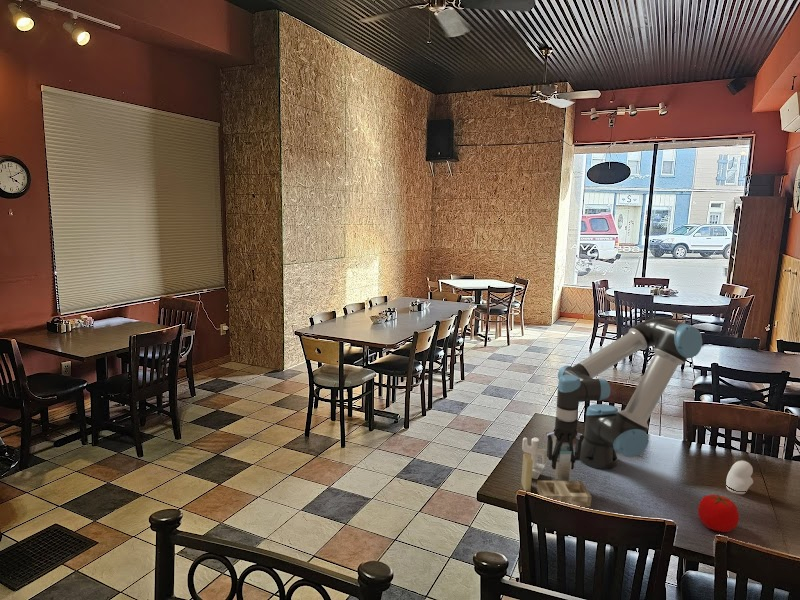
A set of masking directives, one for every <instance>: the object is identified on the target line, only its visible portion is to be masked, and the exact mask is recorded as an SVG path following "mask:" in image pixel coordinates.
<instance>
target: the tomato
mask: <svg viewBox="0 0 800 600" xmlns="http://www.w3.org/2000/svg"><path fill="white" fill-rule="evenodd" d="M697 508H698V510H697V513H698V517H699V520H700V521H701V523H702V524H703V525H704V526H705V527H706V528H708V529H711V530H713V531H716V530H717V531H716V532H719V533H726V532H727V533H728V532H731V531H733V530H734V529H735V528H736V527H737V525H738V524H739V521H740V513H739V510H738V507H737V506H736V504H735V502H734V501H733V500H731V499H730V498H728V497H725V496H722V495H719V494H708V495H704V496H703V497H702V498H701V500H699V504H698V507H697ZM720 531H721V532H720Z"/></svg>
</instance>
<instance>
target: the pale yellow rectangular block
mask: <svg viewBox="0 0 800 600" xmlns="http://www.w3.org/2000/svg"><path fill="white" fill-rule="evenodd" d="M522 455H523V456H522V464H521V465H522V467H521V470H522V471H521V478H520V479H521V481H520V483H521V486H522V488H523V491H524V492H525V491H527V492H526V493H531V492H532V491H531V489H532V479H533V478H532V467H533V461H532V459H531V454H530V453H527V452H524V453H523V454H522Z"/></svg>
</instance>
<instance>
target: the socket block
mask: <svg viewBox="0 0 800 600" xmlns="http://www.w3.org/2000/svg"><path fill="white" fill-rule="evenodd" d="M536 481H537V483H536V493H537V494H538V496H539V495H542V496H544V497H547V498H550V499H553V500H557V501H561V502H565V503H569V504H573V505H577V506H581V507H580V508H591V505H592V495H591V493H590V492H589V491H588V489H587V487H586V486H585V484H584V483H583V482H582V481H581V480H579V481H578V480H575V481H574V480H569V481H554V480H538V479H537V480H536Z"/></svg>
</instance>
